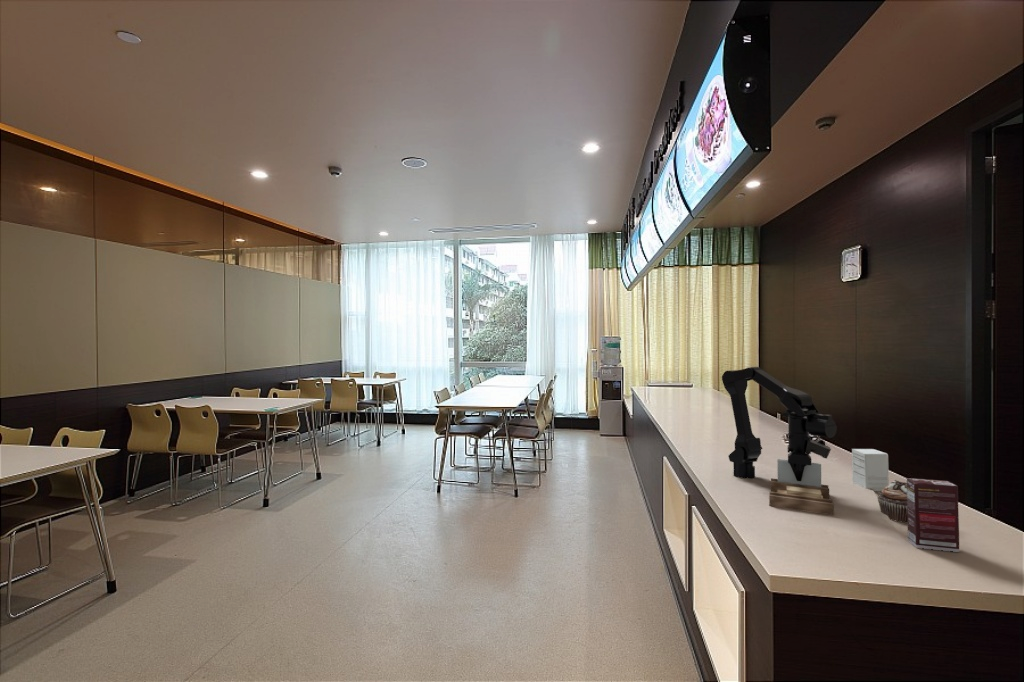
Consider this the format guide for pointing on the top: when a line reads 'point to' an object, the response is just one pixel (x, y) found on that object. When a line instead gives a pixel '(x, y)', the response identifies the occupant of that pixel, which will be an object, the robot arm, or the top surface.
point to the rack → (800, 498)
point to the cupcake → (894, 501)
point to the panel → (808, 478)
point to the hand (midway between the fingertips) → (798, 480)
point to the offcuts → (802, 492)
